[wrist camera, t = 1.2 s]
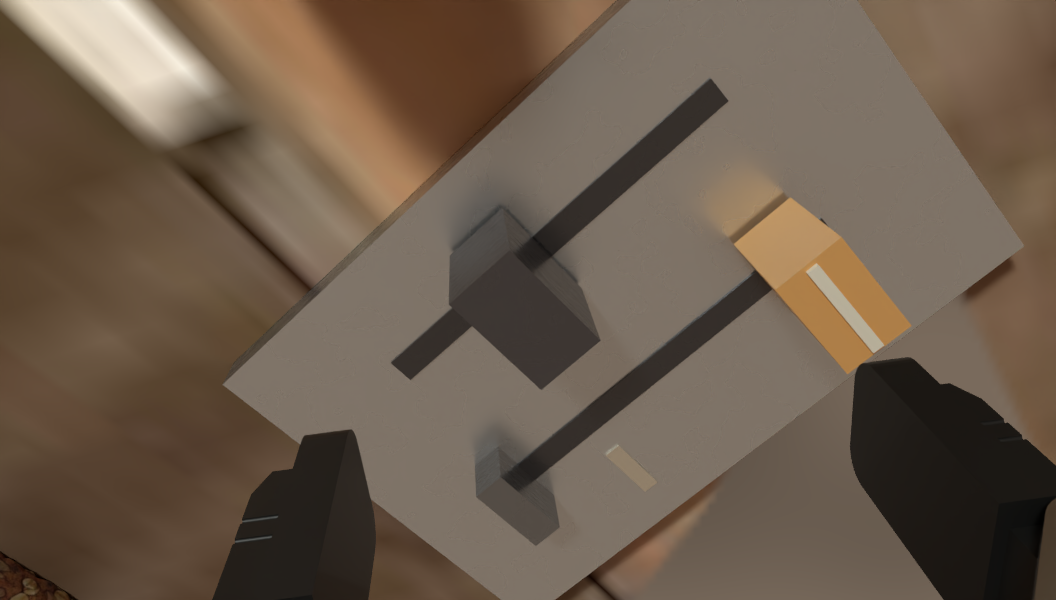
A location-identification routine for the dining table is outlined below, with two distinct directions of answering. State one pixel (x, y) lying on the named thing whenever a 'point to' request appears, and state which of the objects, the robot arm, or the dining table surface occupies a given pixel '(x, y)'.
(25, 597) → the bread
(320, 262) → the dining table surface
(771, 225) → the fader knob
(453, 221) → the console panel
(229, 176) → the dining table surface
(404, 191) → the dining table surface
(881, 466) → the robot arm
